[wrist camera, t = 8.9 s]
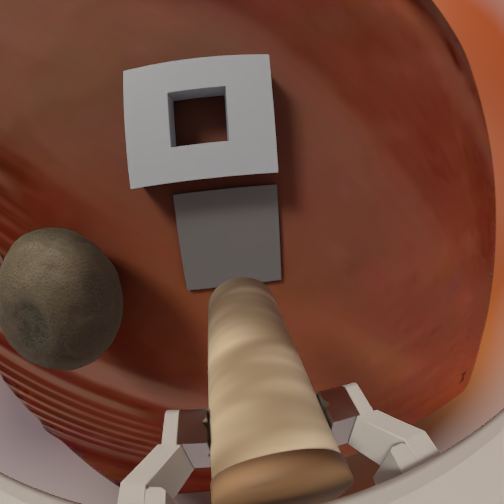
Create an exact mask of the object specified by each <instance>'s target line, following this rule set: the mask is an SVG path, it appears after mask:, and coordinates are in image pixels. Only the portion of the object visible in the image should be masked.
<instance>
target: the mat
mask: <svg viewBox="0 0 504 504" xmlns="http://www.w3.org/2000/svg"><path fill="white" fill-rule="evenodd" d="M173 199H174V207H175V215H176V222H177V230H178V237H179V243H180V250H181V256H182V262H183V268H184V274H185V280H186V286H187V290H196V289H206V288H215V287H218V286H219V285H221V284H222V283H224V282H225V281H228V280H230V279H233V278H238V277H248V278H253V279H256V280H258V281H261V282H267V281H275V280H281V258H280V235H279V214H278V196H277V185H276V184H272V185H258V186H246V187H235V188H225V189H215V190H206V191H197V192H189V193H181V194H174V195H173Z"/></svg>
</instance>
